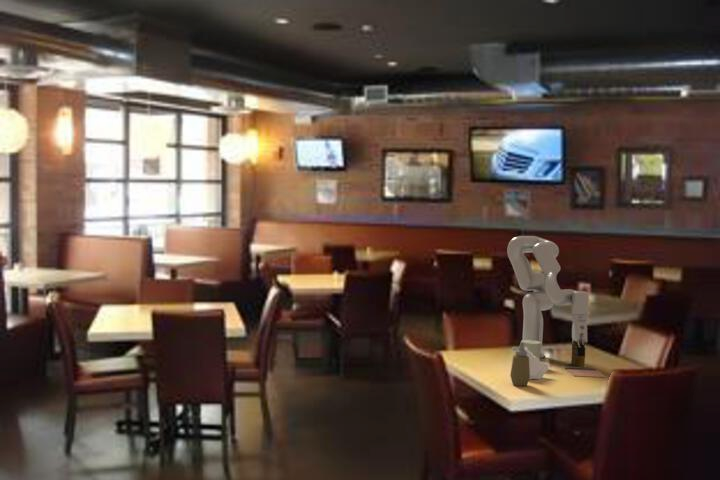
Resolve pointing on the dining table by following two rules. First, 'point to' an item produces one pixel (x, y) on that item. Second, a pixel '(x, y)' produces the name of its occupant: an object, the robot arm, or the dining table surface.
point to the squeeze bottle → (520, 367)
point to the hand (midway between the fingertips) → (578, 353)
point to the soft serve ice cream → (535, 366)
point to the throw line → (580, 368)
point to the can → (533, 347)
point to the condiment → (576, 357)
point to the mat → (585, 373)
